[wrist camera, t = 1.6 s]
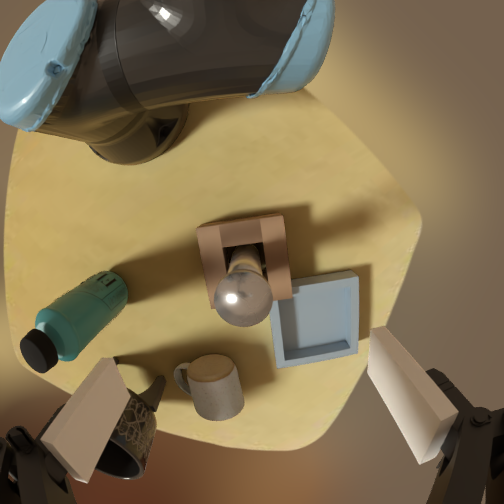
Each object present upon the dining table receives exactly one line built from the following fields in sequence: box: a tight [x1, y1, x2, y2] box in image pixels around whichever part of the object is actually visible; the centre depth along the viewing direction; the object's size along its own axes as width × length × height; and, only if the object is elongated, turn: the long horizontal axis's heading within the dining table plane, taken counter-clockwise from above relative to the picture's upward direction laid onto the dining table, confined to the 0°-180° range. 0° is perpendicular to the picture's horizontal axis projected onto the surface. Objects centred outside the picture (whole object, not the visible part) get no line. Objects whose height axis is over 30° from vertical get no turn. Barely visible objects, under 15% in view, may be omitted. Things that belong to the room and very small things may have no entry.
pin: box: [214, 244, 273, 327], centre depth 29 cm, size 5×5×15 cm
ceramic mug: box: [174, 354, 244, 421], centre depth 36 cm, size 11×8×8 cm
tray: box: [270, 270, 359, 369], centre depth 36 cm, size 12×12×3 cm
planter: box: [94, 357, 166, 480], centre depth 32 cm, size 13×13×18 cm
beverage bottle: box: [20, 271, 128, 373], centre depth 27 cm, size 6×7×20 cm
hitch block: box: [196, 213, 293, 309], centre depth 34 cm, size 10×10×4 cm
